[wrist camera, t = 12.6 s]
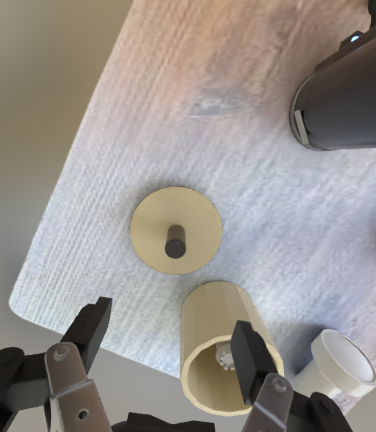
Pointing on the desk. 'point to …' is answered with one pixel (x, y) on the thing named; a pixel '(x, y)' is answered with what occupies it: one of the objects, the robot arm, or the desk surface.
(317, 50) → the desk surface
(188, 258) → the cream disc with rod
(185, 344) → the tin
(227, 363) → the rook chess piece
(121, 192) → the desk surface
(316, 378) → the spotlight
